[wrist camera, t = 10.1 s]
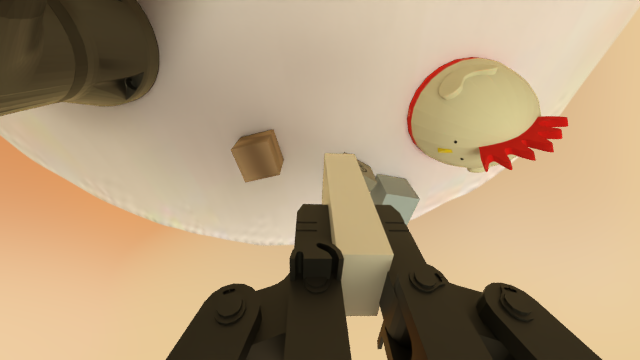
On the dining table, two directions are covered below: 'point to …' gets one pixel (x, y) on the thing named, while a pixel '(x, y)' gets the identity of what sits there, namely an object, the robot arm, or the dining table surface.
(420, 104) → the kitchen timer
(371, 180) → the dice cube
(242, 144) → the walnut block
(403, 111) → the dining table surface
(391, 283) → the robot arm
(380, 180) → the slate block
